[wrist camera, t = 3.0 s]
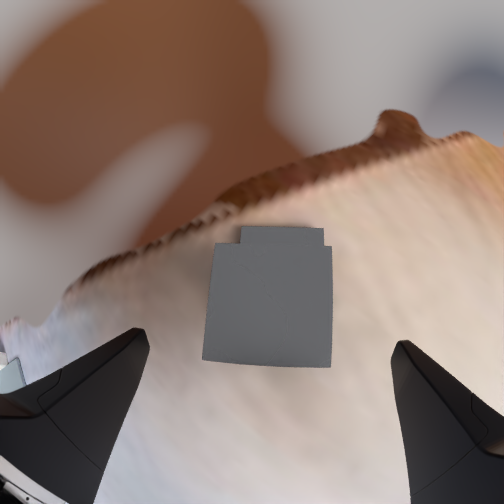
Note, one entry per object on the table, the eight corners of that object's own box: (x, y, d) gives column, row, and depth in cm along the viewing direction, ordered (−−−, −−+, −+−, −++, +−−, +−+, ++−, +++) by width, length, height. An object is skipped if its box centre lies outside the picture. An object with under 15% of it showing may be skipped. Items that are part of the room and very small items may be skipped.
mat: (74, 491, 13) (71, 492, 12) (13, 492, 11) (11, 493, 11) (18, 358, 18) (15, 358, 17) (-27, 392, 16) (-29, 392, 16)
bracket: (320, 362, 16) (390, 364, 5) (232, 358, 17) (146, 350, 6) (321, 235, 19) (353, 97, 8) (243, 233, 20) (203, 97, 9)
